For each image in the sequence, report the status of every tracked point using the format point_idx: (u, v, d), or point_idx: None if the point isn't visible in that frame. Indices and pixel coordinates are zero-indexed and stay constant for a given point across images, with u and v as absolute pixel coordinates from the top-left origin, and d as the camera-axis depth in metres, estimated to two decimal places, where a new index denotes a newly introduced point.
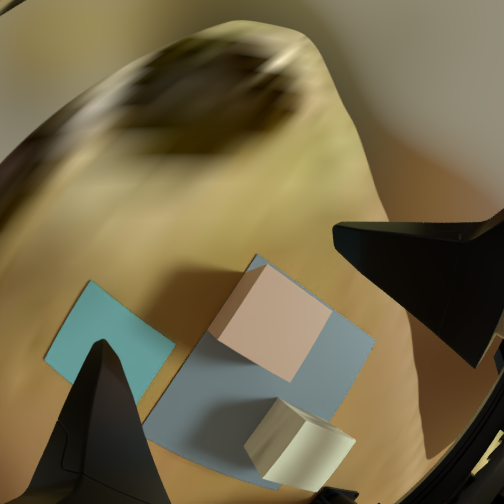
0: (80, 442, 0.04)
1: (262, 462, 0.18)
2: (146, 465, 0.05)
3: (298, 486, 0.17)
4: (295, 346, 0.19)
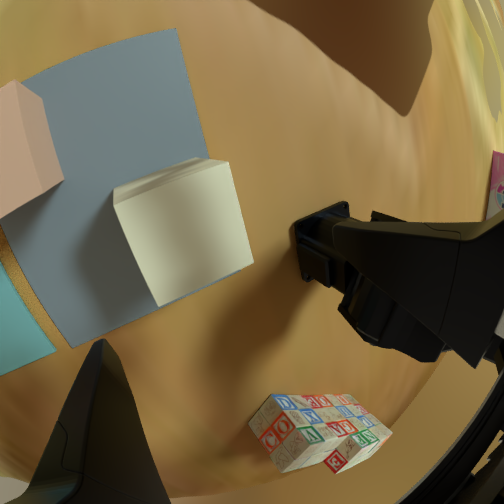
0: (80, 442, 0.04)
1: None
2: (146, 465, 0.05)
3: (216, 277, 0.16)
4: (8, 157, 0.08)
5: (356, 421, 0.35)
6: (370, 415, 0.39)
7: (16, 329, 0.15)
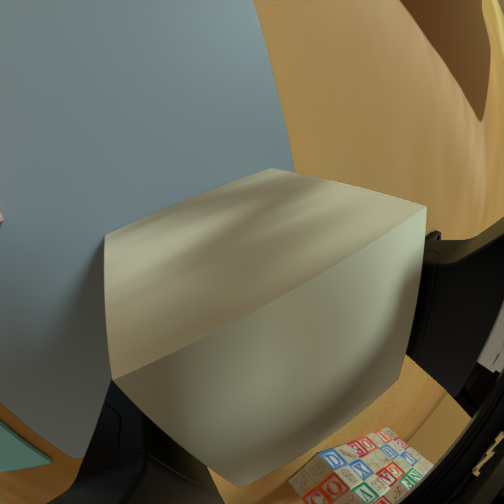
0: (138, 421, 0.04)
1: None
2: None
3: (345, 422, 0.07)
4: None
5: (401, 461, 0.26)
6: (411, 449, 0.30)
7: None
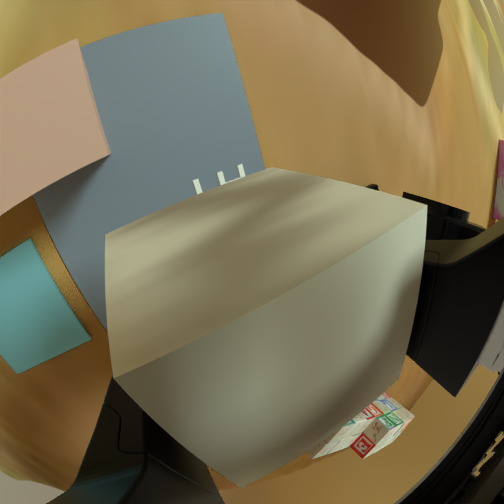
0: (138, 421, 0.04)
1: None
2: None
3: (346, 422, 0.07)
4: (68, 117, 0.09)
5: (380, 404, 0.35)
6: (392, 399, 0.39)
7: (47, 317, 0.16)
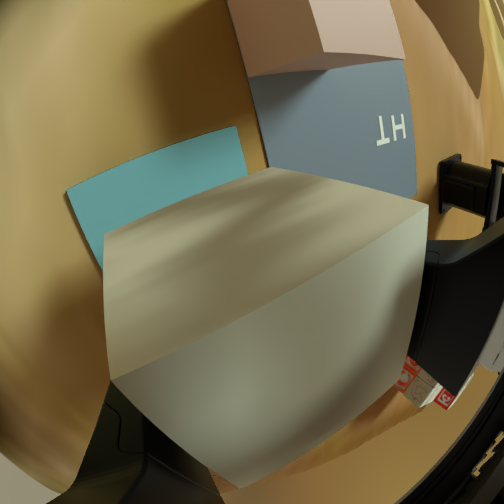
0: (138, 421, 0.04)
1: None
2: None
3: (346, 423, 0.07)
4: (382, 15, 0.08)
5: None
6: None
7: None
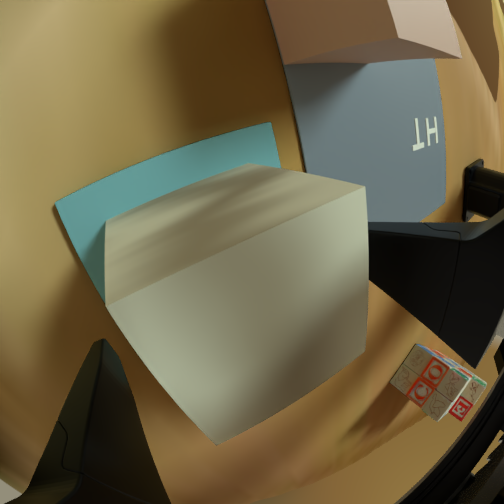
0: (80, 442, 0.04)
1: None
2: (146, 465, 0.05)
3: (312, 387, 0.08)
4: (440, 6, 0.06)
5: (465, 370, 0.32)
6: (465, 368, 0.36)
7: None
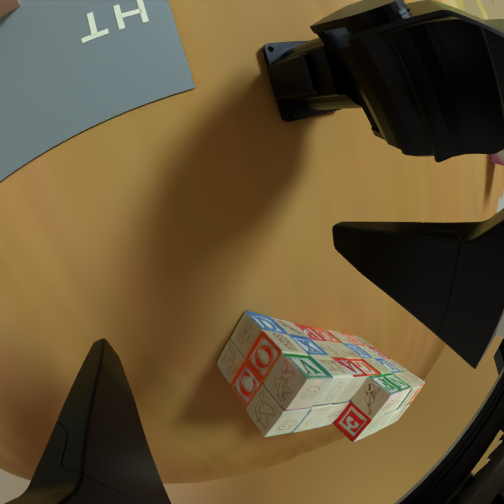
0: (80, 442, 0.04)
1: None
2: (146, 465, 0.05)
3: None
4: None
5: (376, 363, 0.26)
6: (392, 361, 0.30)
7: None
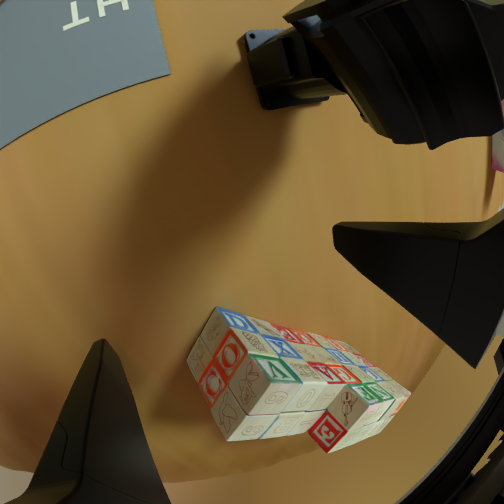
0: (80, 442, 0.04)
1: None
2: (146, 465, 0.05)
3: None
4: None
5: (357, 370, 0.25)
6: (377, 369, 0.29)
7: None
